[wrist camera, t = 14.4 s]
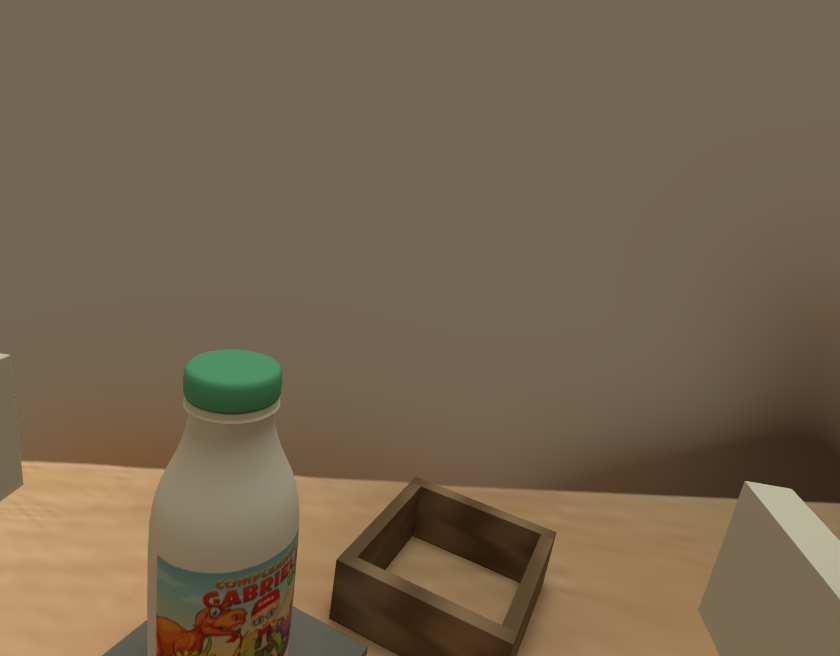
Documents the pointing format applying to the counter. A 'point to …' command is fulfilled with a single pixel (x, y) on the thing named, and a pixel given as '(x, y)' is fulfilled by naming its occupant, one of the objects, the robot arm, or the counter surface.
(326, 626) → the slate tile
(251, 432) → the milk bottle
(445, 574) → the counter surface
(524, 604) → the walnut caddy
